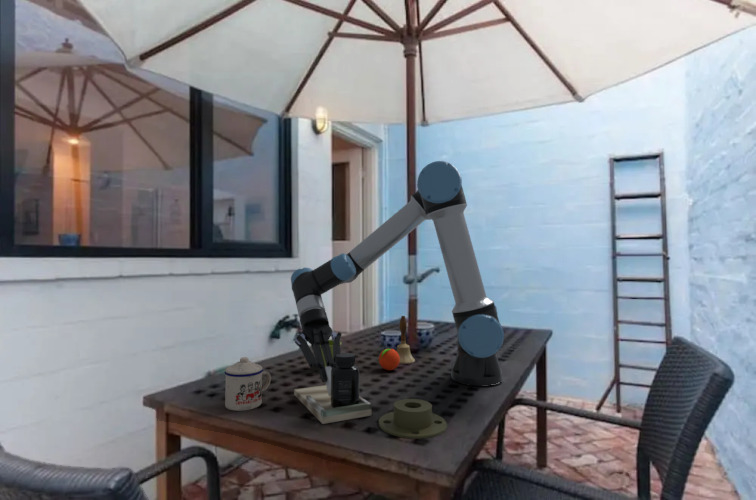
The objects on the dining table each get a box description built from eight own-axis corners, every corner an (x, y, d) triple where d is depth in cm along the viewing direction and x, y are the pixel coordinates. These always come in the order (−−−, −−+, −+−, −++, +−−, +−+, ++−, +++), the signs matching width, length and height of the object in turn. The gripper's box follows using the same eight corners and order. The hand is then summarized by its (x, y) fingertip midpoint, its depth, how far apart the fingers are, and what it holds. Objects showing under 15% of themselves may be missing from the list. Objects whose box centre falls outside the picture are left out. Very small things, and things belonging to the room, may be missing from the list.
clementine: (389, 374, 136) (390, 352, 136) (372, 371, 140) (372, 349, 140) (403, 369, 142) (404, 347, 142) (386, 366, 146) (386, 345, 147)
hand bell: (388, 362, 152) (388, 316, 152) (396, 357, 159) (396, 314, 160) (410, 364, 149) (411, 318, 149) (418, 359, 156) (418, 315, 156)
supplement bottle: (364, 403, 104) (365, 354, 104) (349, 412, 98) (350, 360, 98) (340, 398, 108) (341, 350, 108) (324, 407, 102) (325, 356, 102)
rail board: (294, 394, 115) (294, 384, 115) (336, 389, 121) (336, 379, 121) (322, 423, 95) (322, 411, 96) (371, 415, 101) (371, 403, 101)
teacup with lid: (235, 414, 101) (236, 364, 101) (217, 404, 107) (218, 357, 107) (279, 402, 109) (280, 356, 109) (260, 394, 115) (261, 350, 116)
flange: (379, 417, 88) (452, 417, 89) (378, 393, 103) (441, 394, 104) (379, 440, 88) (452, 440, 89) (378, 413, 103) (440, 414, 104)
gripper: (330, 322, 126) (352, 396, 111) (287, 324, 121) (303, 403, 106) (338, 306, 122) (361, 381, 107) (292, 308, 116) (311, 388, 101)
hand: (333, 392), depth 106 cm, fingers closed
